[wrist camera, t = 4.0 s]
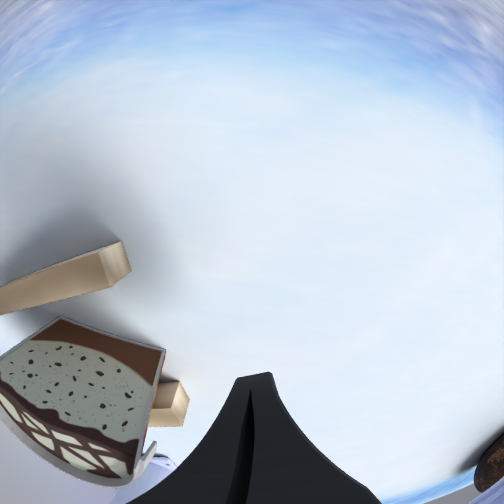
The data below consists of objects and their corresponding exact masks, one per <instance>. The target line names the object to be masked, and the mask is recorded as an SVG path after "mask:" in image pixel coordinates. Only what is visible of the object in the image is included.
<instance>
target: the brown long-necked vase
mask: <svg viewBox="0 0 504 504" xmlns="http://www.w3.org/2000/svg"><path fill="white" fill-rule="evenodd" d="M503 477H504V434H503V435H502V436H501V437H500V438H499V439H498V440H497V441H496V442H495V443H494V444H493V445H492V446H491V447H490V448H489V449H488V450H487V451H486V452H485V454H484V455H483V456H482V458H481V459H480V461H479V462H478V464H477V467H476V470H475V474H474V484H475V487H476V489H477V490H478V491H479V492H481V493H484V492H485V491H486V490H488V489H489V488H490V487H491V486H493V485H494V484H495V483H497V482H498V481H499V480H500V479H501V478H503Z"/></svg>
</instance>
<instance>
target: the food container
mask: <svg viewBox="0 0 504 504" xmlns="http://www.w3.org/2000/svg"><path fill="white" fill-rule="evenodd" d="M165 353H166V349H162V348H158V347H154V346H151V345H147V344H143V343H140V342H136V341H133V340H129V339H126V338H123V337H120V336H116V335H113V334H110V333H107V332H104V331H101V330H98V329H95V328H92V327H90V326H87V325H84V324H81V323H78V322H76V321H73V320H71V319H68V318H65V317H63V316H59V317H57V318H56V319H54V320H53V321H51V322H50V323H48V324H47V325H45V326H44V327H42V328H41V329H39V330H38V331H36V332H35V333H33V334H32V335H30V336H29V337H27V338H26V339H24V340H23V341H21V342H20V343H19V344H17V345H16V346H14V347H13V348H11V349H10V350H9V351H7V352H6V353H4V354H3V355H1V356H0V420H1V421H2V422H3V423H4V424H5V425H6V427H7V428H8V429H9V430H10V431H11V432H12V433H13V434H14V435H15V436H16V437H17V438H18V439H19V440H20V441H21V442H22V443H24V444H25V445H26V446H27V447H28V448H29V449H30V450H32V451H33V452H34V453H35V454H37V455H38V456H39V457H41V458H42V459H44V460H45V461H47V462H48V463H49V464H51V465H53V466H54V467H56V468H58V469H59V470H61V471H63V472H65V473H67V474H69V475H71V476H73V477H75V478H77V479H80V480H82V481H85V482H88V483H91V484H95V485H99V486H103V487H111V488H119V487H125V486H128V485H130V484H131V483H132V482H133V481H134V479H137V478H138V477H139V476H140V475H142V473H143V472H144V470H145V468H146V467H147V465H148V464H149V462H150V461H151V459H152V458H153V456H154V453H155V451H156V444H157V442H156V441H153V442H152V444H151V445H150V447H149V448H148V450H147V451H146V453H145V454H144V456H143V457H141V456H142V451H143V446H144V441H145V437H146V432H147V428H148V423H149V419H150V415H151V410H152V406H153V402H154V398H155V394H156V390H157V386H158V382H159V378H160V375H161V371H162V367H163V363H164V360H165Z"/></svg>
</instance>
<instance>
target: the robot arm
mask: <svg viewBox="0 0 504 504" xmlns="http://www.w3.org/2000/svg"><path fill="white" fill-rule="evenodd" d="M141 457H143V456H141ZM110 504H381V502H380V501H379V500H378V499H377V498H376V497H375V495H374V494H373V493H372V492H371V491H370V490H369V489H368V488H367V487H366V486H364V485H363V484H361V483H359V482H358V481H356V480H355V479H353V478H352V477H351V476H349V475H348V474H346V473H345V472H344V471H342V470H341V469H340V468H339V467H337V466H336V465H335V464H334V463H333V462H331V461H330V460H329V459H328V458H327V457H326V456H325V455H324V454H323V453H322V452H321V451H319V450H318V449H317V448H316V446H315V445H314V444H313V443H312V442H311V441H310V440H309V439H308V438H307V437H306V435H305V434H304V433H303V432H302V431H301V429H300V428H299V427H298V425H297V424H296V423H295V421H294V420H293V418H292V417H291V416H290V414H289V413H288V411H287V409H286V408H285V406H284V404H283V402H282V401H281V399H280V397H279V395H278V391H277V388H276V385H275V381H274V378H273V375H272V373H270V372H265V373H260V374H255V375H250V376H244V377H239V378H237V379H236V380H235V383H234V385H233V387H232V389H231V391H230V394H229V396H228V398H227V400H226V402H225V404H224V405H223V407H222V409H221V411H220V413H219V414H218V416H217V418H216V420H215V421H214V423H213V424H212V426H211V427H210V429H209V430H208V432H207V433H206V435H205V436H204V438H203V439H202V440H201V442H200V443H199V444H198V445H197V447H196V448H195V449H194V450H193V451H192V453H191V454H190V455H189V456H188V457H187V458H186V459H185V460H184V461H183V462H182V463H181V464H180V465H179V466H178V467H176V466H175V465H174V464H173V462H172V461H171V460H170V459H168V458H165V457H153V458H152V459H151V461H150V462H149V464H148V465H147V467H146V468H145V470H144V472H143V473H142V475H140V476H139V477H138V478H137V479H134V481H133V482H132V483H131V484H130V485H128V486H125V487H119V488H115V491H114V493H113V496H112V499H111V501H110ZM468 504H504V477H503V478H501V479H500V480H499V481H498V482H497V483H495V484H494V485H493V486H491V487H490V488H489V489H488V490H486V491H485V492H484V493H482V494H481V495H480V496H478V497H477V498H475V499H474V500H472V501H471V502H469V503H468Z"/></svg>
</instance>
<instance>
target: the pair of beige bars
mask: <svg viewBox="0 0 504 504" xmlns="http://www.w3.org/2000/svg"><path fill="white" fill-rule="evenodd" d="M131 271H132V270H131V268H130V265H129V262H128V259H127V256H126V253H125V250H124V247H123V244H122V241H120V242H117V243H114V244H111V245H108V246H105V247H102V248H99V249H96V250H93V251H91V252H88V253H85V254H82V255H79V256H76V257H74V258H71V259H68V260H65V261H63V262H60V263H57V264H55V265H52V266H49V267H47V268H44V269H41V270H39V271H36V272H34V273H31V274H29V275H26V276H24V277H21V278H19V279H16V280H14V281H11V282H9V283H7V284H5V285H3V286H1V287H0V315H3V314H7V313H11V312H15V311H19V310H23V309H27V308H31V307H35V306H39V305H42V304H46V303H50V302H54V301H58V300H62V299H66V298H70V297H74V296H78V295H82V294H86V293H90V292H94V291H98V290H101V289H105V288H109V287H111V286H113V285H114V284H115V283H116V282H118V281H119V280H120V279H122V278H123V277H124V276H125V275H127V274H128V273H129V272H131ZM189 400H190V399H189V398H188V396H187V394H186V392H185V390H184V388H183V386H182V385H181V383H180V381H178V382H169V383H158V386H157V390H156V394H155V398H154V402H153V406H152V410H151V415H150V419H149V423H148V427H178V426H183V423H184V419H185V415H186V411H187V407H188V403H189Z"/></svg>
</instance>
